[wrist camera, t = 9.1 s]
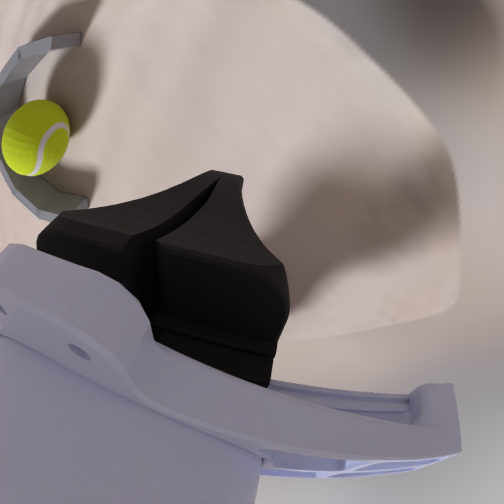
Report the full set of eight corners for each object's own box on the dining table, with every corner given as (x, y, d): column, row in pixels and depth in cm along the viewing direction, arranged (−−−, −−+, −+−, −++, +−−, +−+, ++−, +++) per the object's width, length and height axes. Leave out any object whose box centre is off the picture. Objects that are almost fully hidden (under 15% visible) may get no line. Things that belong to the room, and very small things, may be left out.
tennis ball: (80, 165, 22) (33, 202, 17) (37, 145, 21) (-9, 176, 16) (90, 100, 18) (33, 124, 13) (43, 85, 17) (-12, 107, 12)
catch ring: (89, 207, 25) (69, 227, 22) (26, 193, 25) (7, 209, 23) (81, 32, 14) (52, 35, 11) (11, 53, 14) (-14, 61, 11)
